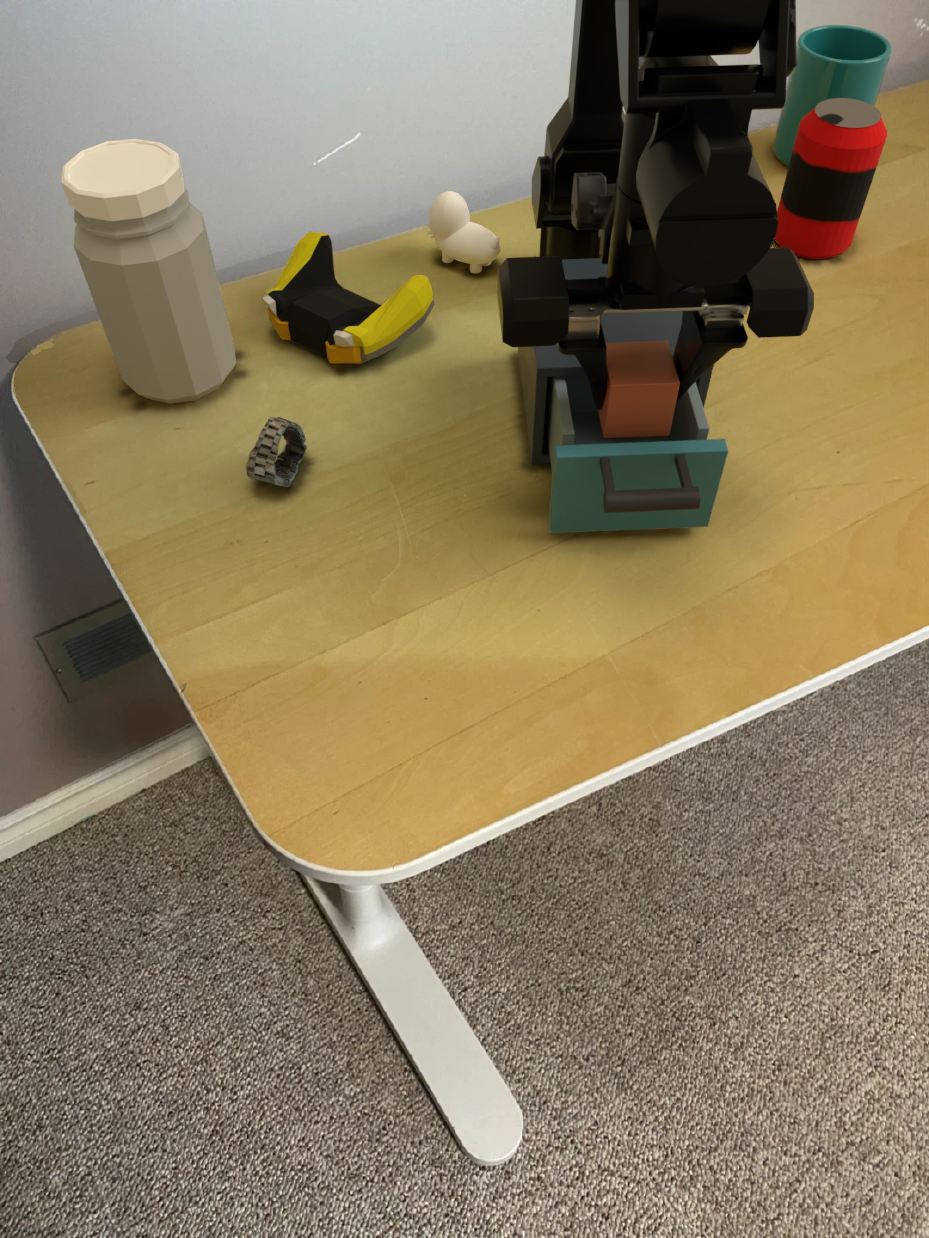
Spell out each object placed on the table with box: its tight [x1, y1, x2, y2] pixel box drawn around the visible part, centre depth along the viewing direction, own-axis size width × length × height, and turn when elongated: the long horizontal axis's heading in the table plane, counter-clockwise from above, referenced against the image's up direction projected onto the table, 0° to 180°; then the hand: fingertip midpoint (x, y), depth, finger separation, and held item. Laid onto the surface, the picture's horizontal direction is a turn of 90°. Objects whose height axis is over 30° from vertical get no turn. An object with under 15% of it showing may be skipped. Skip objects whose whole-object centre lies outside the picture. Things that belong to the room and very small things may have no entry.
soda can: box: [774, 98, 888, 260], centre depth 89 cm, size 8×8×12 cm
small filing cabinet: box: [517, 258, 715, 465], centre depth 75 cm, size 14×13×9 cm
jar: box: [60, 138, 237, 405], centre depth 75 cm, size 10×10×18 cm
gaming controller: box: [262, 231, 435, 365], centre depth 84 cm, size 15×6×10 cm
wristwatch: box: [245, 416, 308, 488], centre depth 73 cm, size 3×5×5 cm
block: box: [598, 341, 680, 438], centre depth 65 cm, size 4×4×4 cm
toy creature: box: [426, 190, 502, 274], centre depth 90 cm, size 5×8×6 cm, turn 56°
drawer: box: [544, 375, 729, 534], centre depth 68 cm, size 17×11×8 cm
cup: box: [772, 24, 893, 167], centre depth 100 cm, size 9×12×11 cm
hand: (633, 404), depth 66 cm, fingers closed on block, 4 cm apart
